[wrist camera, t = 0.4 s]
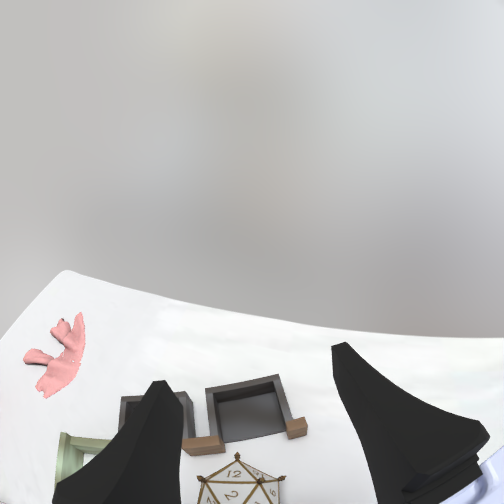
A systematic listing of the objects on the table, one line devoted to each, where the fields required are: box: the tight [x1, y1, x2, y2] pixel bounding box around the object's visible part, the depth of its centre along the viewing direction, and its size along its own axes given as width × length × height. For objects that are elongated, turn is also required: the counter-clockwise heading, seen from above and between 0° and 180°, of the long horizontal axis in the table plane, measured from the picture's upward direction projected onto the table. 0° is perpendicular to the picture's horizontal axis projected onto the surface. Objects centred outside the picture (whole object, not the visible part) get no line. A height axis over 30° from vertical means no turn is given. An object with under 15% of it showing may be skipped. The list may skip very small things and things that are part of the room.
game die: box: [197, 452, 286, 504], centre depth 16 cm, size 9×8×10 cm
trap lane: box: [54, 374, 308, 492], centre depth 19 cm, size 22×29×4 cm
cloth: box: [23, 312, 85, 399], centre depth 38 cm, size 20×22×2 cm
